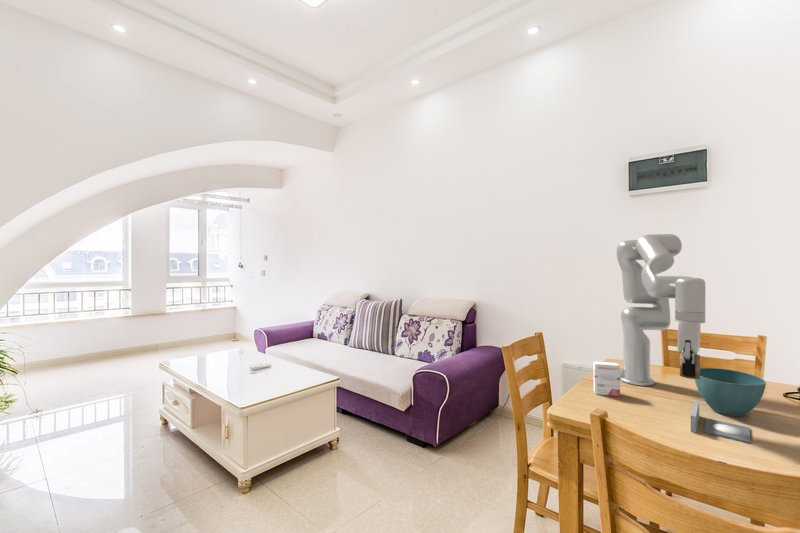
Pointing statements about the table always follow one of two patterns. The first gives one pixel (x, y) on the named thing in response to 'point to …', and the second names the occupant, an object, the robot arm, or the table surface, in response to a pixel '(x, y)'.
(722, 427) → the mat
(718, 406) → the teal bowl
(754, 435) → the table surface
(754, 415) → the table surface
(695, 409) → the divider wall
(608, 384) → the ink box
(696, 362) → the walnut block
